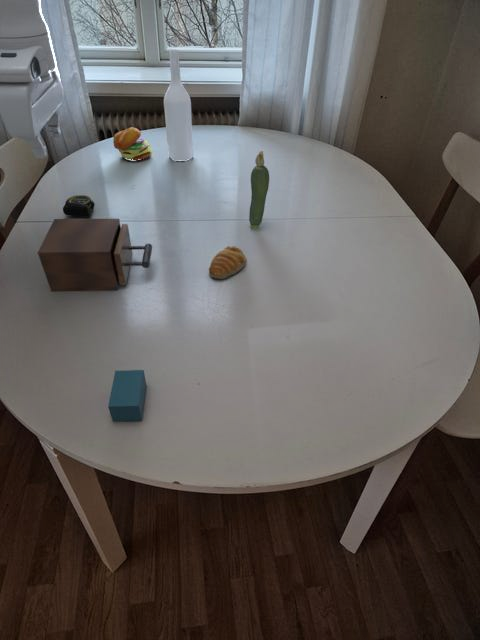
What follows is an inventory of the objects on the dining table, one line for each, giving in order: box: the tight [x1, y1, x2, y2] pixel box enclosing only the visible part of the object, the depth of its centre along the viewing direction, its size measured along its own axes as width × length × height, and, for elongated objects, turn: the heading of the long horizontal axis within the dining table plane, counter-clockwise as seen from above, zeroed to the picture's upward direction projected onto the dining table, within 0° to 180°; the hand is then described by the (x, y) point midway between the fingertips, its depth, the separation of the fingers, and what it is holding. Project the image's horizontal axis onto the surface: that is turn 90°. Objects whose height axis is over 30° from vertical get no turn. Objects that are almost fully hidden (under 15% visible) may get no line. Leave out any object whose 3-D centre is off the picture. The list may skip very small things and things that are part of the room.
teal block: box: [107, 369, 147, 423], centre depth 68 cm, size 7×4×4 cm, turn 3°
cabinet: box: [37, 218, 122, 292], centre depth 90 cm, size 14×13×10 cm
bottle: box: [163, 49, 194, 163], centre depth 129 cm, size 8×8×30 cm
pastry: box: [208, 245, 248, 280], centre depth 94 cm, size 9×7×4 cm
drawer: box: [111, 223, 153, 286], centre depth 91 cm, size 18×11×8 cm, turn 93°
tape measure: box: [62, 194, 95, 218], centre depth 111 cm, size 7×7×4 cm
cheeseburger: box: [112, 126, 153, 163], centre depth 136 cm, size 10×11×10 cm
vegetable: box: [248, 150, 270, 230], centre depth 102 cm, size 4×4×20 cm
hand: (48, 145), depth 75 cm, fingers open, 8 cm apart
